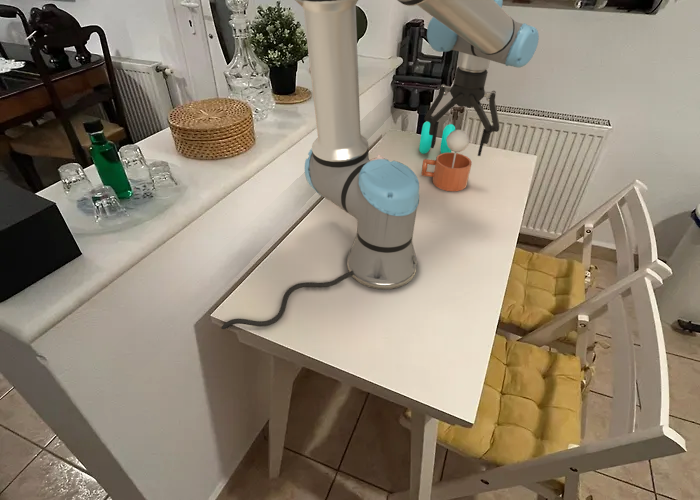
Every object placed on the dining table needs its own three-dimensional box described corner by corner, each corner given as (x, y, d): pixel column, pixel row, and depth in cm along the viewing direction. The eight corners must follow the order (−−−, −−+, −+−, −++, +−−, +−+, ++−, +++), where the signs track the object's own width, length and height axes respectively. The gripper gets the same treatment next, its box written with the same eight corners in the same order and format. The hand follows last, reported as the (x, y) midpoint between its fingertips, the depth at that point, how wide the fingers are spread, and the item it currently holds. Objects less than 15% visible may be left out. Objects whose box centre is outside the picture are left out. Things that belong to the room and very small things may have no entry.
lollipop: (459, 175, 126) (470, 126, 116) (461, 185, 121) (473, 136, 112) (438, 174, 126) (447, 125, 117) (439, 184, 122) (449, 134, 112)
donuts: (449, 163, 133) (455, 132, 127) (417, 158, 135) (421, 128, 129) (451, 148, 141) (456, 119, 134) (420, 145, 142) (424, 115, 136)
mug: (467, 176, 127) (471, 155, 123) (466, 193, 120) (471, 171, 115) (422, 170, 129) (425, 149, 125) (418, 186, 122) (421, 164, 117)
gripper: (524, 69, 104) (502, 151, 118) (425, 57, 109) (415, 137, 123) (524, 79, 98) (500, 163, 112) (420, 66, 104) (409, 148, 118)
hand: (455, 149), depth 118 cm, fingers open, 12 cm apart
